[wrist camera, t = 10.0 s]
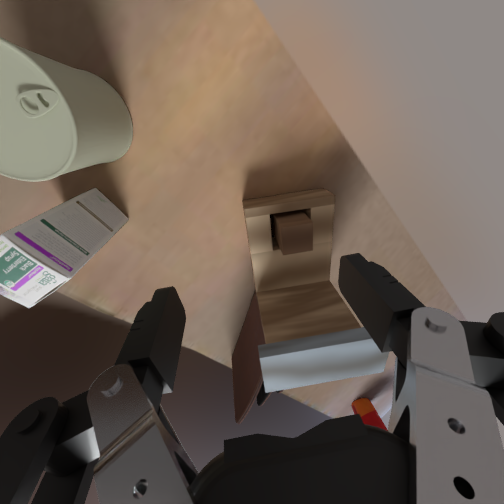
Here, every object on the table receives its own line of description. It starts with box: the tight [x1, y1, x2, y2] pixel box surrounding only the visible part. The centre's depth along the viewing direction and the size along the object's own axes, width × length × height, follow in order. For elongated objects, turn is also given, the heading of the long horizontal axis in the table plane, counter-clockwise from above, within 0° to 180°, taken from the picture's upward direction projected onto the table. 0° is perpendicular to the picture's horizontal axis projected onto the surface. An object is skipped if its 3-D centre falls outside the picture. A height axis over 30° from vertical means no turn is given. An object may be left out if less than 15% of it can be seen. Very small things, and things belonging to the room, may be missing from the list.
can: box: [0, 37, 133, 182], centre depth 20 cm, size 9×9×12 cm
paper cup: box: [352, 398, 388, 431], centre depth 59 cm, size 8×8×14 cm
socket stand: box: [242, 188, 389, 393], centre depth 29 cm, size 18×14×18 cm
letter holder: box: [232, 290, 283, 424], centre depth 40 cm, size 10×20×14 cm, turn 165°
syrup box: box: [0, 188, 129, 308], centre depth 24 cm, size 6×6×14 cm
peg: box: [271, 210, 313, 255], centre depth 31 cm, size 4×4×7 cm
